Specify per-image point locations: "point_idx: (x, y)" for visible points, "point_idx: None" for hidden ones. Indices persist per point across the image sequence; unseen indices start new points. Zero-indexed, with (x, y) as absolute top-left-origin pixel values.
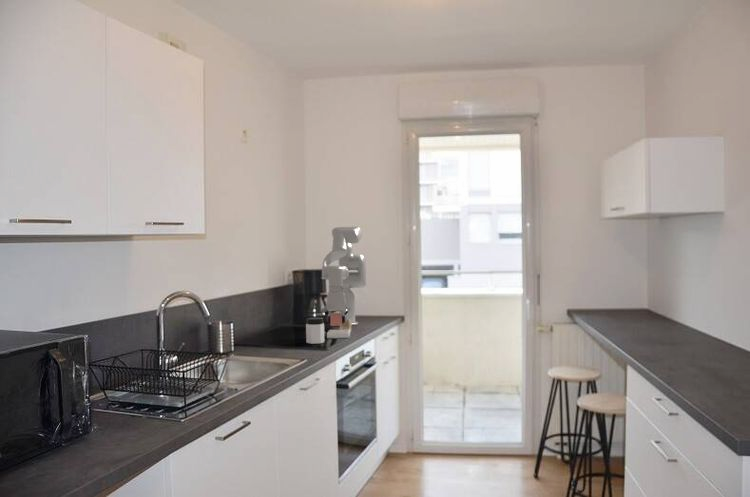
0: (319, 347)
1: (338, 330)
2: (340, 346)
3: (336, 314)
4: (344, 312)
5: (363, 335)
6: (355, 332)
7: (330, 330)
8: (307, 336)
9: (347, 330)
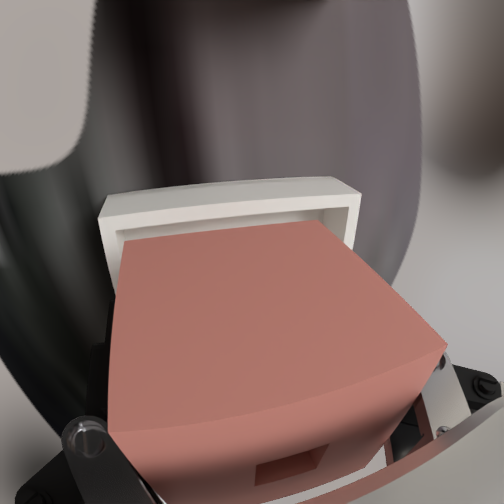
0: None
1: (225, 213)
2: None
3: (285, 492)
4: (451, 401)
5: (414, 222)
6: (376, 35)
7: (119, 227)
8: None
9: (330, 205)
